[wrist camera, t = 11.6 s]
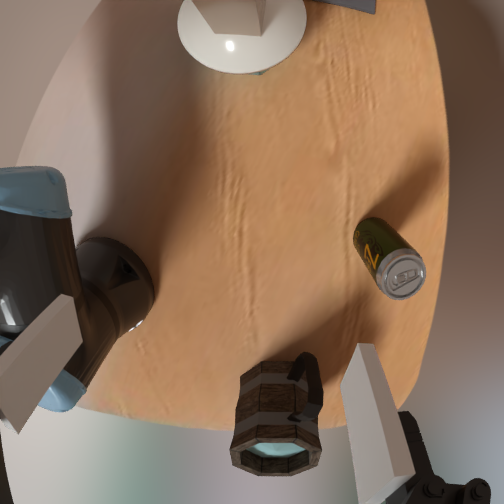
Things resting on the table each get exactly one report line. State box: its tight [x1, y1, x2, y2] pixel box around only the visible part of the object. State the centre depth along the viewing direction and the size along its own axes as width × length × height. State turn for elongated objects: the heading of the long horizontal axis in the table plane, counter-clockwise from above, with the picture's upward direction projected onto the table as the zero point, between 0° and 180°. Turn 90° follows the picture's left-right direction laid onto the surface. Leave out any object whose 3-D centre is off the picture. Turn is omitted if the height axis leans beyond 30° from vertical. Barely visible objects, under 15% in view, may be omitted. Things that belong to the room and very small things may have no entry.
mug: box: [230, 352, 324, 476], centre depth 41 cm, size 20×14×15 cm
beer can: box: [353, 217, 426, 300], centre depth 32 cm, size 5×5×12 cm
